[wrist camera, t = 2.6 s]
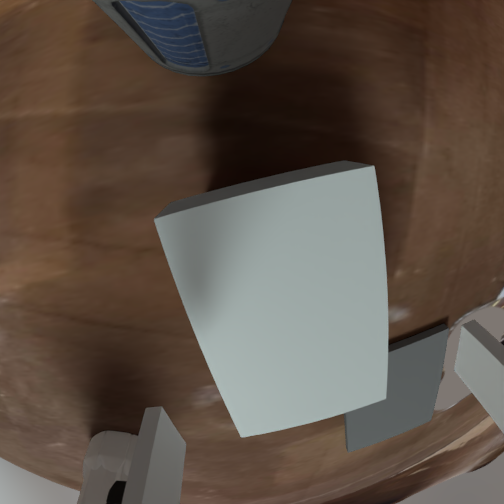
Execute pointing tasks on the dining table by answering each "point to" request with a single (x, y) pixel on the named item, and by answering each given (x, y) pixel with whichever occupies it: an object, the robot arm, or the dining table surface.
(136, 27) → the beverage bottle
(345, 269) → the board
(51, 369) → the dining table surface
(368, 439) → the mat
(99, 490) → the white ridged column
